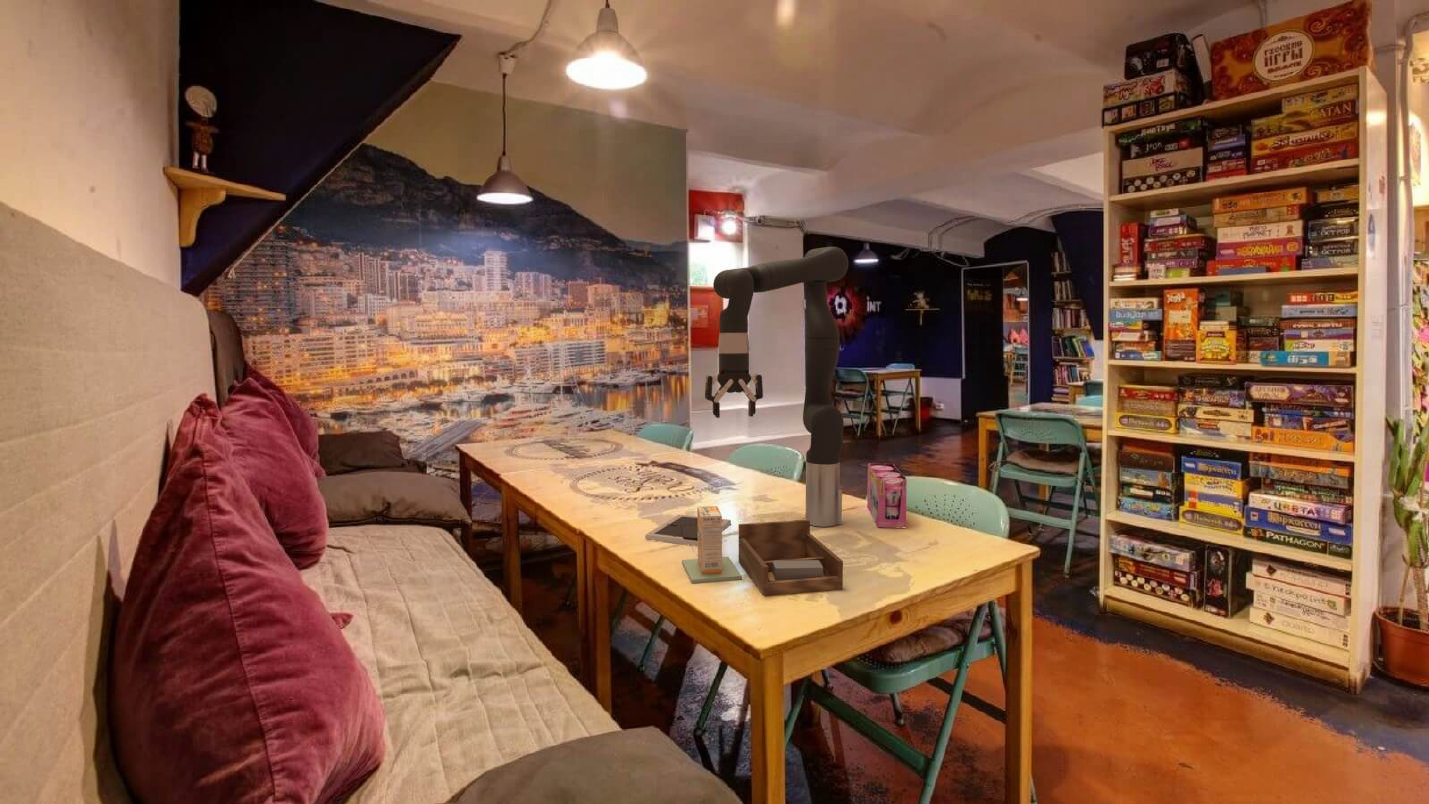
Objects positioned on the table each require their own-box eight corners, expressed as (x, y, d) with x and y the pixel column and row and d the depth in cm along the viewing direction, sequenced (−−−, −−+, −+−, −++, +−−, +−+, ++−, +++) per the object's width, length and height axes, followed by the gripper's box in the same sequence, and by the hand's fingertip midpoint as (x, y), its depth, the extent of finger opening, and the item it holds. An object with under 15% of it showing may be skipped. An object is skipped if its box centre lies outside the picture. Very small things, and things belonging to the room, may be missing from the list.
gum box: (907, 530, 184) (909, 480, 183) (877, 529, 185) (878, 480, 183) (892, 507, 208) (893, 463, 206) (866, 507, 209) (867, 462, 207)
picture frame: (701, 549, 171) (730, 527, 190) (701, 538, 171) (730, 517, 190) (645, 542, 177) (679, 521, 196) (645, 531, 177) (679, 511, 196)
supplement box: (696, 562, 157) (696, 506, 156) (717, 561, 158) (717, 505, 157) (700, 574, 149) (700, 515, 148) (722, 573, 150) (722, 514, 148)
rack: (808, 556, 163) (808, 519, 162) (842, 589, 143) (843, 546, 142) (738, 562, 160) (738, 524, 159) (763, 595, 139) (763, 552, 138)
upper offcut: (818, 571, 148) (818, 560, 147) (823, 579, 143) (823, 567, 143) (772, 572, 147) (772, 561, 147) (775, 580, 143) (775, 568, 142)
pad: (728, 559, 161) (728, 556, 161) (741, 579, 149) (741, 575, 148) (681, 563, 159) (681, 560, 159) (691, 583, 146) (691, 579, 146)
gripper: (757, 350, 174) (757, 414, 176) (702, 351, 171) (703, 416, 173) (765, 351, 167) (765, 417, 169) (708, 352, 164) (709, 419, 166)
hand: (734, 416), depth 171 cm, fingers open, 8 cm apart
